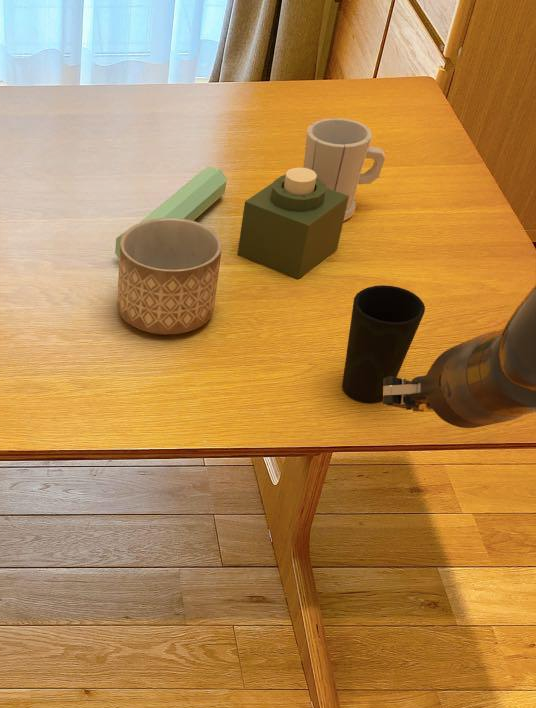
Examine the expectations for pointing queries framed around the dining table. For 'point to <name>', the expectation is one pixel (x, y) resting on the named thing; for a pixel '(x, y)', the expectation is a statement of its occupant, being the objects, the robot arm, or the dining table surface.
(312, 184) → the cream push button
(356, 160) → the cup
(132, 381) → the dining table surface
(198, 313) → the planter
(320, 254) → the green push button box
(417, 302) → the cup
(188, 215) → the pale green long bar
